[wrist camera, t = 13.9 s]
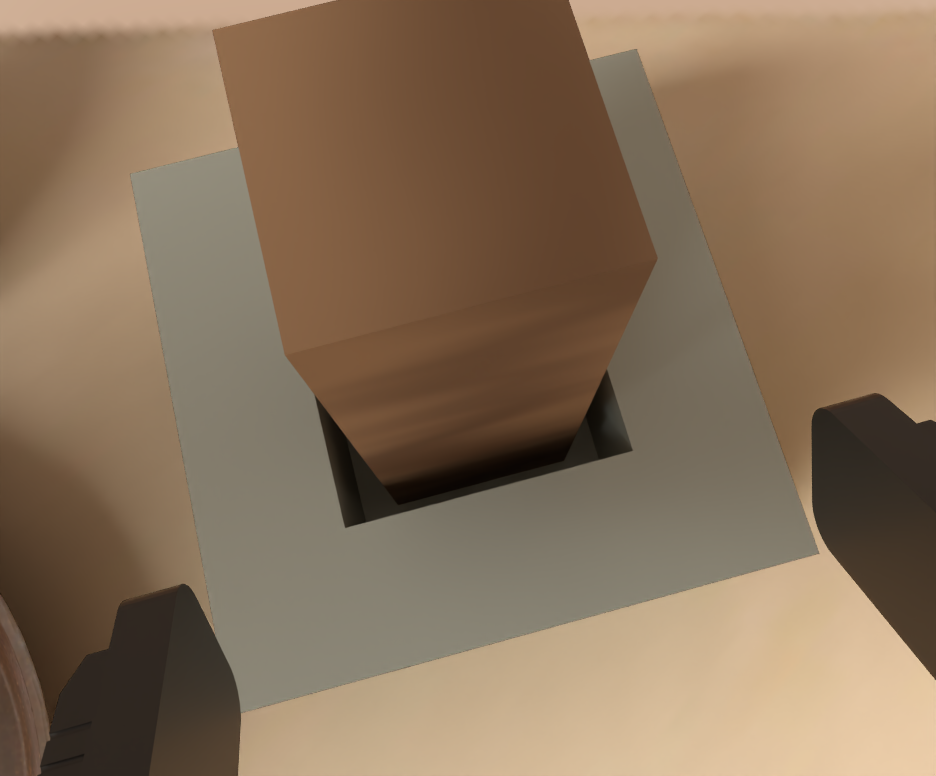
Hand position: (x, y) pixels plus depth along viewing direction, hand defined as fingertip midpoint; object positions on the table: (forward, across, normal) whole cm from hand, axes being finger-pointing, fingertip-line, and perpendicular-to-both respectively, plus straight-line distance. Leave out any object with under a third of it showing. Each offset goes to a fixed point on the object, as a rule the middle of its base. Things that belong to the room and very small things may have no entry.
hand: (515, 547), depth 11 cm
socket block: (+11, 0, +5) cm, 12 cm away
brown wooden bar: (+10, 0, +4) cm, 10 cm away
